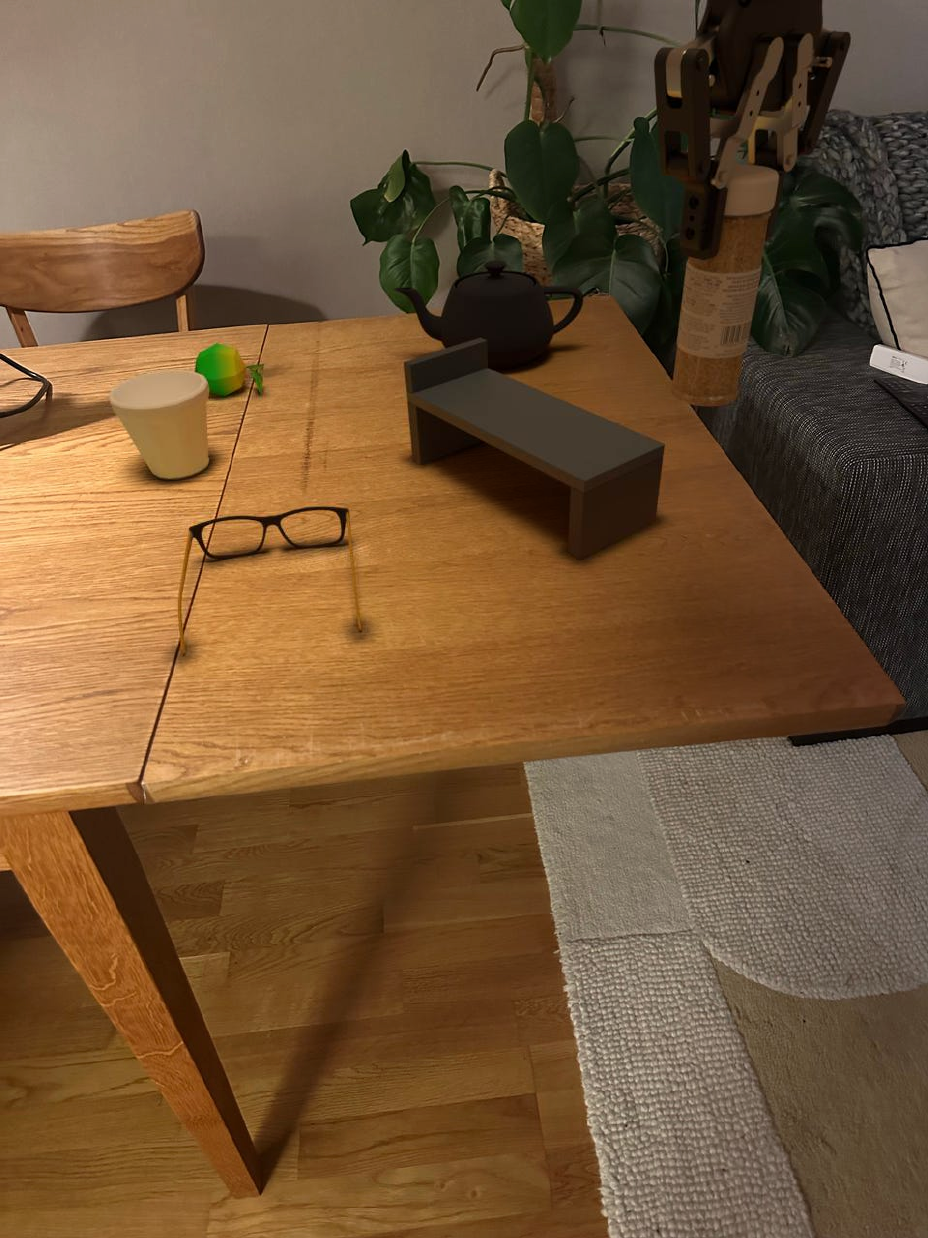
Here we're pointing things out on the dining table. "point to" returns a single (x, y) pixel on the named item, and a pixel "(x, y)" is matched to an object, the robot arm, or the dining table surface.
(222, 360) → the apple
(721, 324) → the sprinkles bottle
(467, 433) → the shelf
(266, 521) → the eyeglasses
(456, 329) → the teapot
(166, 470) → the cup
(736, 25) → the robot arm
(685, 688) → the dining table surface
